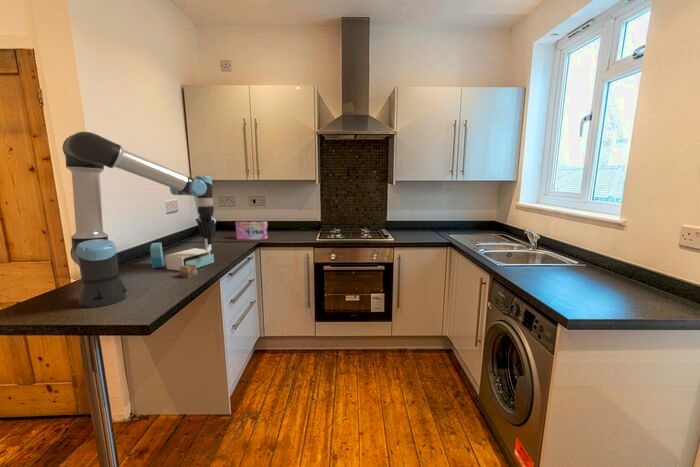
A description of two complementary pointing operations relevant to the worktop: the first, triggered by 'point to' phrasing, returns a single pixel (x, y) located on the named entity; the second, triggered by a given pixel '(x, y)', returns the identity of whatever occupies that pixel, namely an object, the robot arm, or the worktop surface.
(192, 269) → the block
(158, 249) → the data package
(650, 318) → the worktop surface
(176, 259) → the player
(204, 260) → the teal grey flat block
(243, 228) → the gum box
